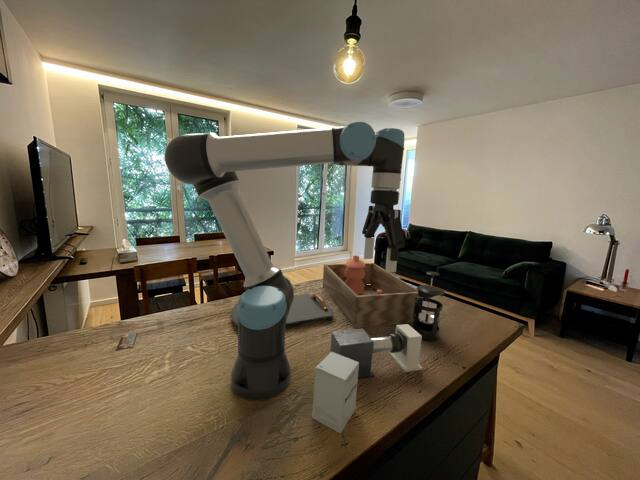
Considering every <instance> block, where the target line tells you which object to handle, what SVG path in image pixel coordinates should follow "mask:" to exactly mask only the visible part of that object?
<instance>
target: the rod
mask: <svg viewBox="0 0 640 480" xmlns="http://www.w3.org/2000/svg"><path fill="white" fill-rule="evenodd" d="M370 338H371V339H372V340H373V342H374V343H373V353H372V354H379V353H385V352H388V353H389V352H391V353H397V352H401V351H402V349H407V341H408V338H407V337H406V336H404V335H399V334H397V333H387V334H386V336H380V337H378V336H377V337H370Z"/></svg>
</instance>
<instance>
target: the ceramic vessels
mask: <svg viewBox="0 0 640 480" xmlns="http://www.w3.org/2000/svg"><path fill="white" fill-rule="evenodd" d="M345 264H346V266H347V268H346V269H345V271H344V274H345V276H346V278H347V279H346V280H345V283H346V284H347V285H348V286H349V287H350V288H351V289H352V290H353V291H354V292H355V293H356V294H357V295H358V296H359V295H362V293H363V292H364V290H365V286H364V283H363V281H362V279H363V278H364V277H365V271H364V269H363V268H364V267H365V262H364V261H363V260H361V259H360V256H359V255H352V259H349V260H346V262H345ZM376 294H382V290H376Z"/></svg>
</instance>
